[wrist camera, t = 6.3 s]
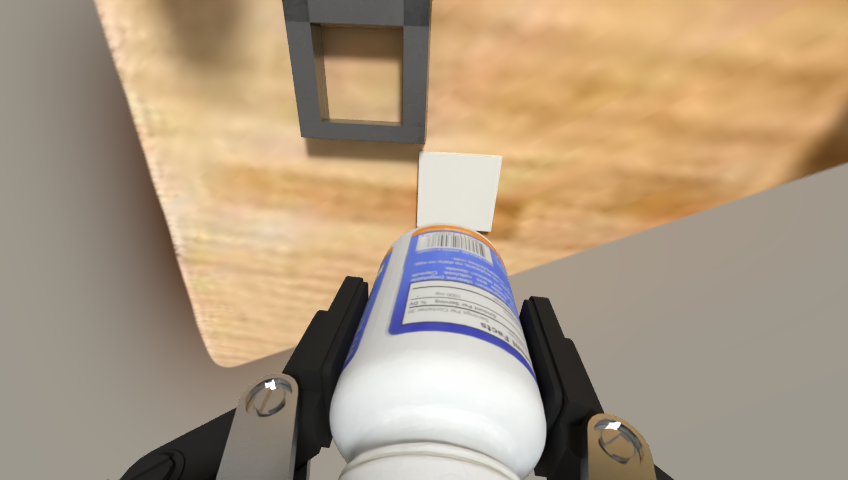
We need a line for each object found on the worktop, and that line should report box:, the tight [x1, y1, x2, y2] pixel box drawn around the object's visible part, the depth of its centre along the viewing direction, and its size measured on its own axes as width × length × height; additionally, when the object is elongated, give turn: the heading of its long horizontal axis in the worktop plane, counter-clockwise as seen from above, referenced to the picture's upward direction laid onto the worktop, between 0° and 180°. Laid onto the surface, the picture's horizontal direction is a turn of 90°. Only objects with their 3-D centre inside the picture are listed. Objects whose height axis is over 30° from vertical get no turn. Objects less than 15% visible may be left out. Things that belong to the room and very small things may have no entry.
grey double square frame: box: [282, 0, 432, 144], centre depth 22 cm, size 10×18×2 cm, turn 178°
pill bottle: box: [330, 223, 546, 480], centre depth 10 cm, size 5×5×10 cm
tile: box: [417, 151, 502, 232], centre depth 28 cm, size 7×7×1 cm
